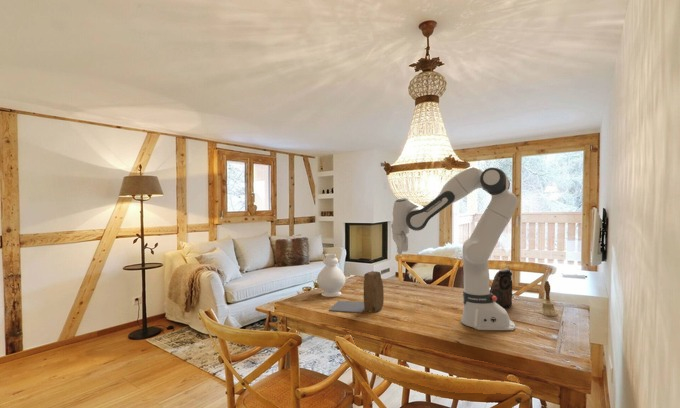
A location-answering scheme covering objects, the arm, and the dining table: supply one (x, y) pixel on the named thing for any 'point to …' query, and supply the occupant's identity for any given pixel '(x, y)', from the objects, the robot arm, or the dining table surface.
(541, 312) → the hand bell
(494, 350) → the dining table surface
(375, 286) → the block
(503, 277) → the owl
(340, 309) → the mat
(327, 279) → the decorative vase
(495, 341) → the dining table surface
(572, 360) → the dining table surface
